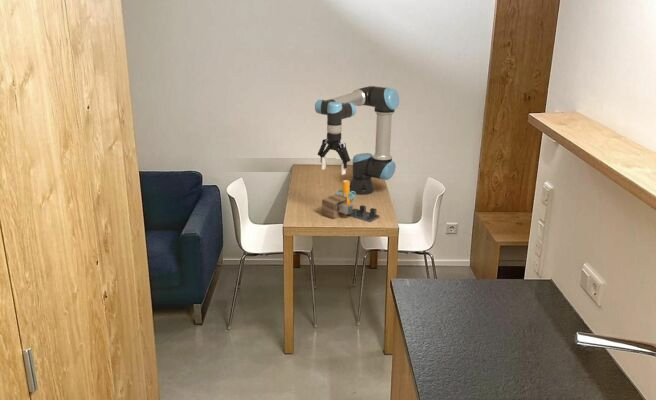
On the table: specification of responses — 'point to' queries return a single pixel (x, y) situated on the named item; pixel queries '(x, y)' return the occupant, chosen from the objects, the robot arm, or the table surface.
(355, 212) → the dark grey pegged plate
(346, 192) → the orange post with rings
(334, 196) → the brown wooden stepped block
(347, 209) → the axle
